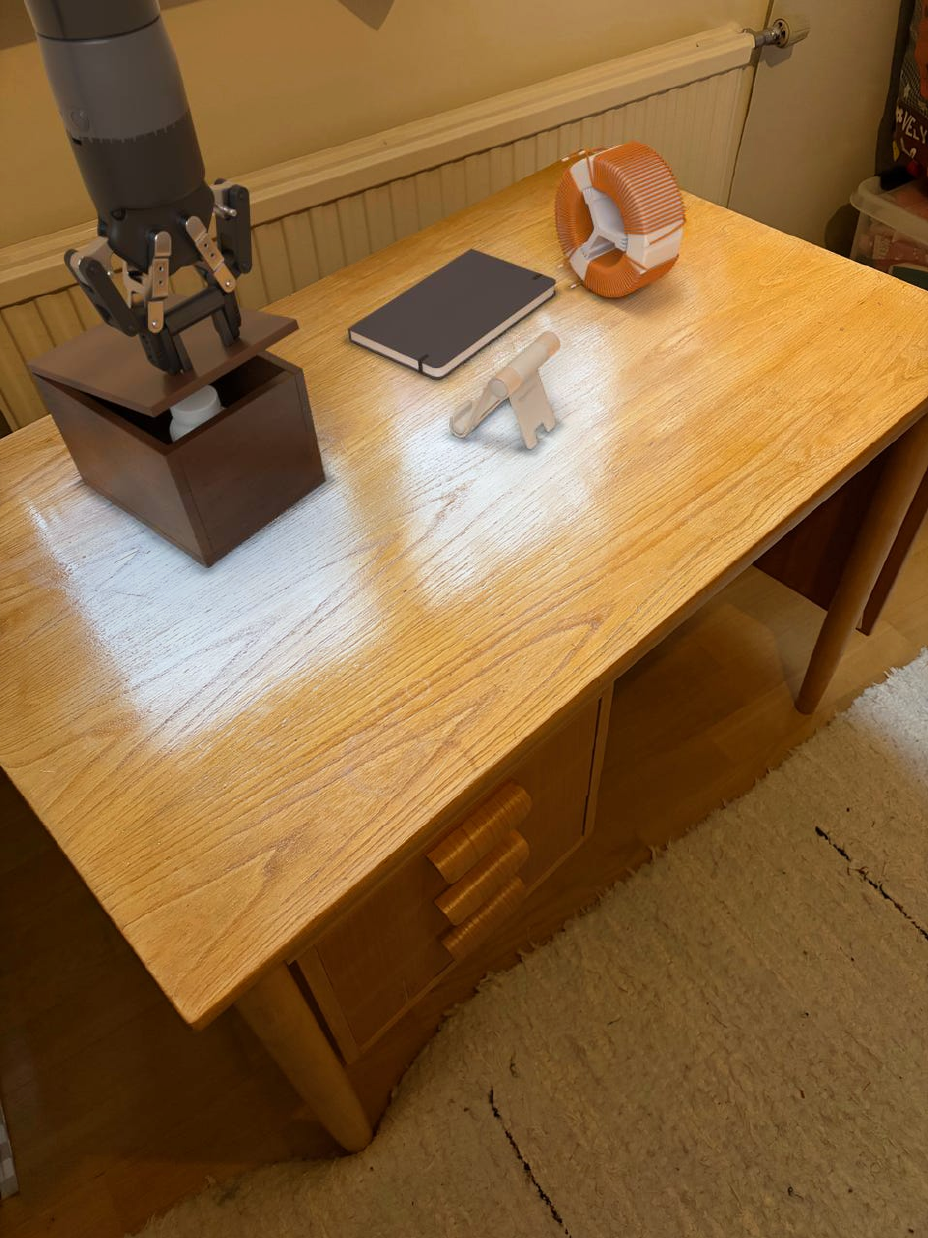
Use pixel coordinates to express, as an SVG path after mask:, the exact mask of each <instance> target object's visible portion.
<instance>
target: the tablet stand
mask: <svg viewBox="0 0 928 1238" xmlns="http://www.w3.org/2000/svg"><path fill="white" fill-rule="evenodd" d="M560 349H561V340H560V337H559V336H558V335H557V334H556V333H555V332H553V331H551V330H546V331H543V332H542V333H540V335H539V336H537V338H535V339H534V340H533V341H532V342H531V343H530V344H529V345H527V346H526V347H525V348H524V349H523V350H522V351H521V352H520V353H519V354H517V355H516V356H515V357H514V358H513V359H512V360H511V361H510V362H508V363H507V364H506V365H505V366H504V367H503V368H502V369H500V371H499V372H497V373H496V374H495V375H494V376H492V377H491V379H490V380H488V382H486V384H484V385H483V389H482V393H480V395H478V396H477V397H476V398H475V399H474V400H473V401H472V400H471V399H468V400H467V401H465V402H464V403H463V404H462V405H461V406H460V407H459V408H457V410H455V411H454V412H453V413H452V414H451V415H449V429H450V431H451V433H452V434H453V435H454V436H455V437H458V438H465V437H466V436H467V435H469V434H470V433H471V432H472V431H474V430H475V427H477V426H478V425H479V424H480V423H481V422H482V421H484V419H485V418H486V417H487V416H489V415H490V414H491V413H492V412H493V411H494V410H495V409H496V408H497V407H498V406H499V405H500V404H502V403H503V401H505V400H507V399H509V402H510V405H511V409H512V411H513V414H514V416H515V420H516V421H517V425H518V427H519V430H520V433H521V435H522V438H523V441H524V443H525V446H526V449H527V450H532V449H534V448H535V447H536V446H537V445H538V443H539V442H538V439H537V434H536V429H538V427H540V425H543V426H544V428H545V430H546V432H547V433H550V432H551V431H552V429H554V428H555V426H556V419H555V416H554V414H553V410H552V408H551V404H550V401H549V398H548V396H547V393H546V389H545V386H544V383H543V381H542V378H541V377H542V376H541V375H540V371H539V369H540V368H541V367H542V366H543V365H545V363H547V362H548V361H549V360H550V359H551V358H553V356H555V354H556V353H558V352H559V350H560Z"/></svg>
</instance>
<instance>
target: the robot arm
mask: <svg viewBox="0 0 928 1238" xmlns="http://www.w3.org/2000/svg"><path fill="white" fill-rule="evenodd" d="M23 3H24V4H25V7H26V10H27V13H28V15H29V19H30V21H31V24H32V27H33V29H34V34H35V36H36V40H37V43H38V48H39V52H40V56H41V60H42V61H41V62H42V64H43V69H44V73H45V77H46V79H47V83H48V86H49V89H50V91H51V94H52V97H53V100H54V102H55V105H56V108H57V112H58V113H59V114H58V115H59V116H60V119H61V123H62V125H63V128H64V131H65V133H66V136H67V139H68V141H69V145H70V147H71V150H72V153H73V156H74V158H75V161H76V164H77V167H78V169H79V173H80V175H81V178H82V180H83V183H84V186H85V189H86V191H87V194H88V196H89V198H90V201H91V202H92V205H93V207H94V209H95V211H96V214H97V225H96V234H97V237H96V238H95V239H94V240H92V241H91V242H89V244H88V245H86V246H85V247H84V248H83V249H81V250H80V251H79V250H78V249H75V248H69V249H68V250H66V251H65V253H64V254H63V262H64V264H65V266H66V267H67V269H68V270H69V272H70V273H71V275H72V276H73V278H74V279H75V280H76V282H77V284H78V285H79V287H80V288H81V289H82V291H83V293H84V294H85V296H86V297H87V298H88V300H89V301H90V303H91V304H92V306H93V307H94V309H95V311H96V312H97V313H98V315H99V316H100V318H101V319H102V320H103V322H105V323H106V324H108V325H109V326H111V327H114V328H116V329H118V330H120V331H121V332H122V333H124V334H125V335H127V336H129V337H134V336H136V335H137V334H139V337H140V340H141V343H142V345H143V348H144V351H145V353H146V357H147V359H148V361H149V362H150V363H151V364H152V365H153V366H155V367H157V368H158V369H160V370H162V371H165V372H167V373H168V374H170V375H174V374H176V373H178V372H179V371H181V366H180V363H179V360H178V357H177V354H176V351H175V348H174V345H173V342H172V339H171V336H170V333H169V330H168V328H167V327H165V326H163V324H164V299H166V298H167V297H168V292H169V278H170V277H171V276H173V275H174V274H175V273H177V272H178V271H179V270H180V269H181V268H184V267H188V266H192V267H193V268H194V270H195V271H196V273H197V274H198V276H200V278H201V279H202V281H203V282H205V283H206V284H207V285H206V286H204V287H203V288H205V287H207V286H209V285H214V286H215V287H217V288H218V289H219V291H220V292H221V293H222V295H223V297H224V300H225V307H224V308H223V309H222V311H223V313H224V316H225V318H226V321H227V324H228V326H229V329H230V331H231V334H232V336H233V339H235V338H236V337H238V336H240V331H239V327H241V315H240V313H239V308H238V307H239V304H238V299H237V296H236V292H235V288H236V286H237V280H238V279H239V277H240V276H241V275H247V274H249V273H250V272H252V271H251V270H252V269H253V250H252V249H253V248H252V247H253V246H252V245H253V244H252V224H251V203H250V201H251V199H250V191H249V189H248V188H247V187H246V186H243V185H240V184H238V183H235V182H233V181H231V180H228V179H225V178H223V177H218V178H217V179H215V181H214V182H213V184H212V185H209V184H208V183H207V182H206V180H205V178H206V167H205V163H204V160H203V155H202V151H201V147H200V143H199V139H198V135H197V132H196V128H195V127H196V126H195V123H194V120H193V116H192V112H191V107H190V104H189V100H188V96H187V92H186V88H185V84H184V79H183V76H182V73H181V72H182V71H181V69H180V64H179V61H178V58H177V54H176V51H175V48H174V46H173V43H172V40H171V38H170V35H169V33H168V32H169V31H168V30H167V27H166V25H165V22H164V17H163V15H162V11H161V6H160V3H159V0H23ZM213 214H214V218H215V230H216V231H215V232H216V243H215V242H214V240H213V239H212V238H211V237H210V234H209V230H210V225H211V222H212V221H211V220H212V217H213ZM113 254H114V255H116V256H117V257H118V258H119V259H121V261H122V267H121V268H122V271H121V272H122V283H123V286H124V287H125V289H126V299H127V300H126V301H127V302H126V301H125V299H124V297H123V296H122V294H121V293H120V291H119V289H118V287H117V286H116V284H115V283H114V281H113V280H112V279H114V278H115V275H116V274H115V271H114V267H113V265H112V261H111V260H112V256H113ZM145 275H146V276H148V278H147V277H146V276H145ZM211 317H212V316H211ZM212 321H213V318H212ZM213 324H214V327H215V330H216V331H217V328H216V326H215V323H214V321H213ZM217 332H218V331H217Z"/></svg>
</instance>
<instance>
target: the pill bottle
mask: <svg viewBox="0 0 928 1238" xmlns="http://www.w3.org/2000/svg"><path fill="white" fill-rule="evenodd" d="M224 409H226V408H224V407H222V406H221V402H220V400H219V397H218V394H217V392H216V390H215V389H214V388H213V387H212V386H210V385H207V386H205V387H203V388H202V389H200V390H199V391H197V392H195V393H194V394H192V395H190V396H189V397H187V398H185V399H184V400H182V401H181V402H179V403H177V404H176V405H174V406H172V407H171V408H170V410H171V413H172V416H173V420H172V422H171V424H170V435H171V438H172V441H173V442H174V441H176V440H177V439H179V438H180V437H182V436H183V435H185V434H187V433H188V432H190V431H191V430H193V429H194V428H196V427H198V426H199V425H201V424H202V423H204V422H205V421H207V420H209V419H210V418H212V417H213V416H215V415H216V414H218V413H220V412H221V411H223V410H224Z"/></svg>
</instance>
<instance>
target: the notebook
mask: <svg viewBox="0 0 928 1238" xmlns="http://www.w3.org/2000/svg"><path fill="white" fill-rule="evenodd" d="M556 284H557V280H556V279H555V278H553V277H551V276H548V275H546V274H544V273H541V272H537V271H534V270H532V269H529V268H526V267H524V266H521V265H518V264H515V263H512V262H509V261H507V260H505V259H501V258H498V257H496V256H493V255H491V254H487V253H485V252H483V251H479V250H477V249H473V248H470V249H468V250H467V251H465V252H464V253H462V254H461V255H458V256H457V257H456V258H454V259H453V260H451V261H449V262H448V263H446V264H445V265H443V266H442V267H440V268H439V269H438V270H435V271H434V272H433V273H431V274H430V275H428V276H427V277H425V278H423V279H422V280H420V281H419V282H417V283H416V284H414V285H413V286H411V287H409V288H408V289H407V290H405V291H403V292H402V293H400V294H399V295H397V296H396V297H394V298H392V299H391V300H389V301H388V302H386V303H385V304H383V305H381V306H380V307H378V308H377V309H375V310H374V311H373V312H371V313H369V314H367V316H365V317H363V318H361V319H360V320H358V321H357V322H355V323H354V324H352V325H351V326H349V327H348V328H347V331H348V332H347V333H348V339H349V342H350V343H353V344H354V345H357V346H360V347H362V348H364V349H365V350H368V351H371V352H373V353H376V354H377V355H379V356H382V357H384V358H386V359H389V360H390V361H393V362H395V363H398V364H399V365H402V366H404V367H406V368H408V369H410V370H413V371H415V372H417V373H418V374H421V375H424V376H425V377H428V378H430V379H433V380H442V379H444V378H446V377H447V376H448V375H449V374H451V373H452V372H454V371H455V370H456V369H457V368H459V367H460V366H461V365H463V364H465V363H466V362H467V361H468V360H470V359H471V358H472V357H475V355H477V354H478V353H479V352H480V351H482V350H483V349H485V348H486V347H487V346H488V345H490V344H491V343H493V342H494V341H495V340H497V339H498V338H499V337H501V336H502V335H504V334H505V333H506V332H507V331H509V330H510V329H512V328H513V327H514V326H515V325H517V324H518V323H519V322H521V321H522V320H523V319H525V318H526V317H527V316H529V315H531V314H532V313H533V312H534V311H535V310H537V309H538V308H540V307H541V306H542V305H544V304H545V303H546V302H548V301H549V300H550V299H552V298H553V297H554V296H555V295H556V291H555V285H556Z"/></svg>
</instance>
